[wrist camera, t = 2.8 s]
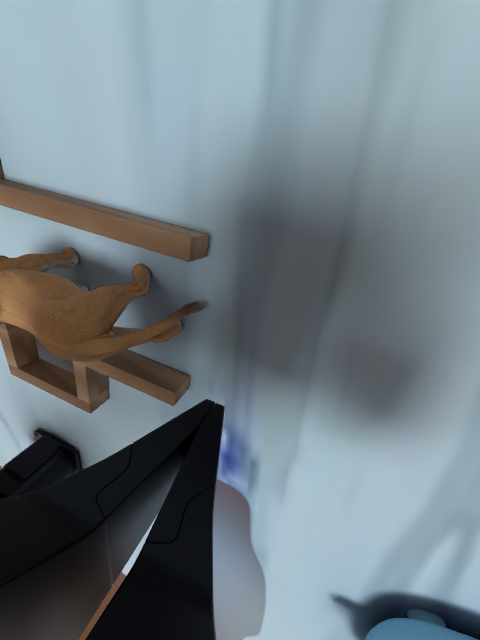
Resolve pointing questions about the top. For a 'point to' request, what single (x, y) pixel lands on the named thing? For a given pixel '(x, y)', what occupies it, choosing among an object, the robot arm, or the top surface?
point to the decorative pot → (415, 628)
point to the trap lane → (125, 366)
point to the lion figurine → (76, 308)
